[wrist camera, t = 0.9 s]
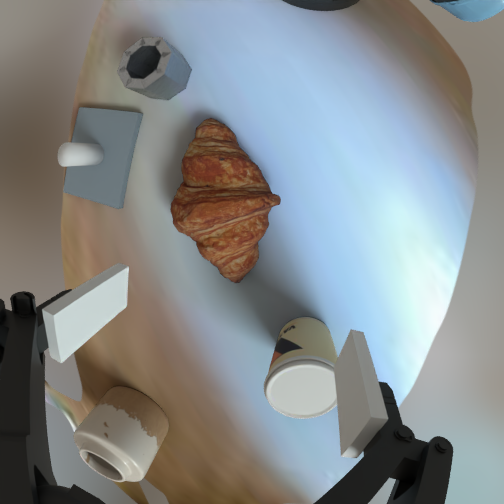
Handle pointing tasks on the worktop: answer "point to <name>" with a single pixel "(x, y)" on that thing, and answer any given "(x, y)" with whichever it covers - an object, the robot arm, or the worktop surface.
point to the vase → (122, 434)
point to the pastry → (222, 200)
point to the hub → (147, 60)
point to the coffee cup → (302, 370)
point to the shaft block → (100, 155)
